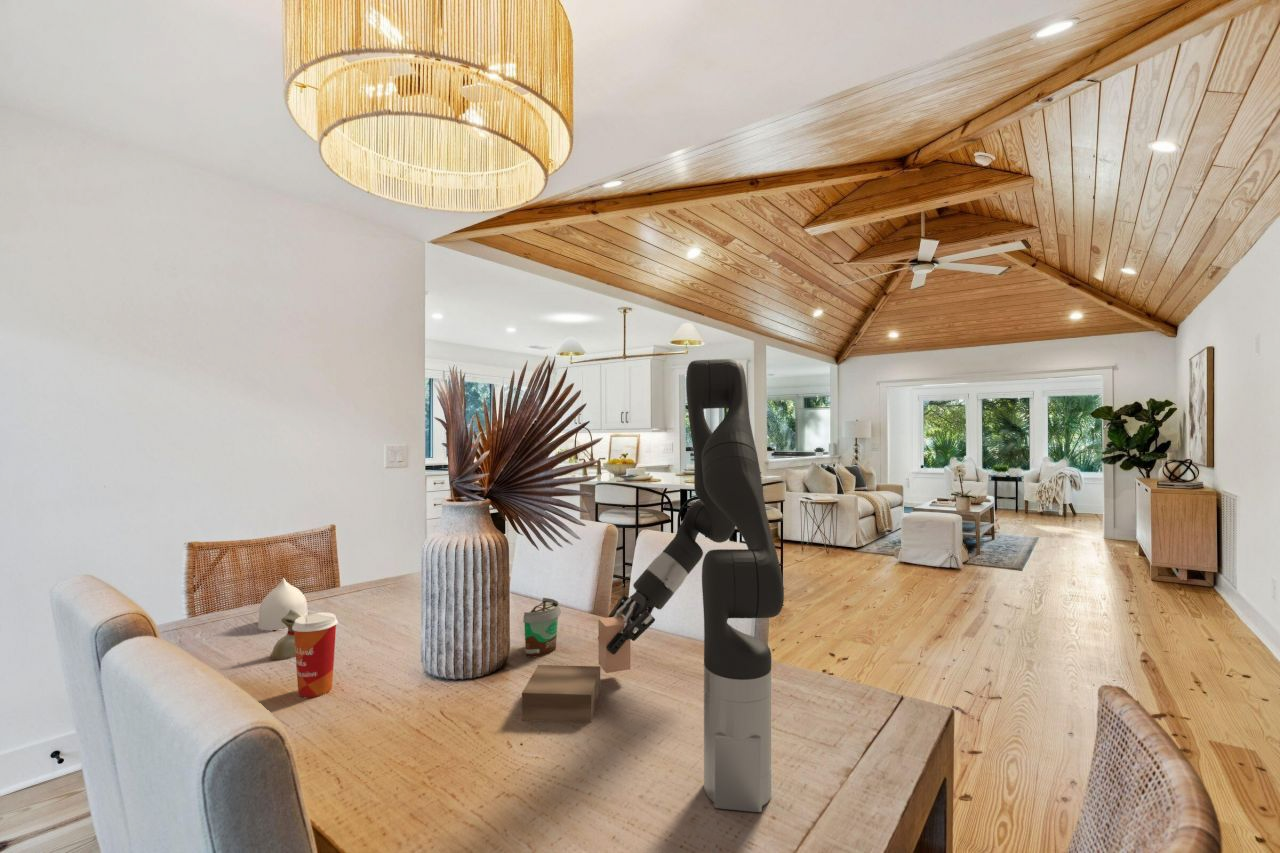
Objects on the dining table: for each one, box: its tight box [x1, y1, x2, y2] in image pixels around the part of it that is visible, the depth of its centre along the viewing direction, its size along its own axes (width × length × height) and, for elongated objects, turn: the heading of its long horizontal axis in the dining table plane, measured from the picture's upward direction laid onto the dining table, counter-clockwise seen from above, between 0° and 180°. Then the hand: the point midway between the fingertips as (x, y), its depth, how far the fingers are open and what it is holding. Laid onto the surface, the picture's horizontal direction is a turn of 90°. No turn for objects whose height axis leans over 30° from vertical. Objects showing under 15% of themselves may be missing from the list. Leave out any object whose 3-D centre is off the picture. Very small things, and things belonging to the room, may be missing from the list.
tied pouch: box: [269, 610, 301, 661], centre depth 132 cm, size 6×8×10 cm
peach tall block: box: [597, 617, 631, 674], centre depth 119 cm, size 5×5×9 cm
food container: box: [522, 597, 562, 658], centre depth 134 cm, size 12×6×10 cm, turn 168°
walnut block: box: [521, 664, 601, 723], centre depth 108 cm, size 12×12×5 cm
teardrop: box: [257, 576, 309, 631], centre depth 152 cm, size 11×11×12 cm
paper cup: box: [292, 612, 339, 699], centre depth 113 cm, size 8×8×14 cm
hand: (605, 646), depth 118 cm, fingers closed on peach tall block, 5 cm apart
